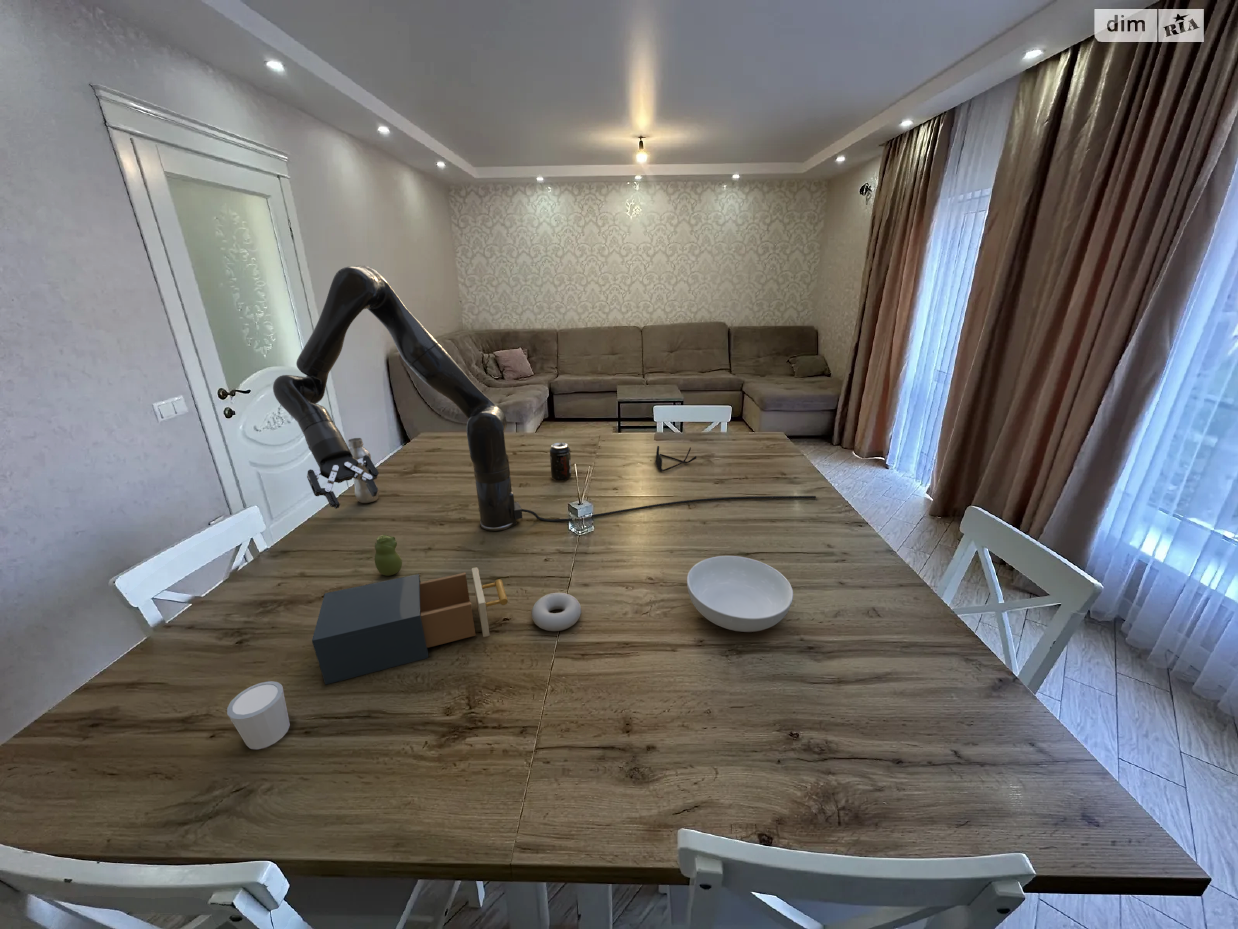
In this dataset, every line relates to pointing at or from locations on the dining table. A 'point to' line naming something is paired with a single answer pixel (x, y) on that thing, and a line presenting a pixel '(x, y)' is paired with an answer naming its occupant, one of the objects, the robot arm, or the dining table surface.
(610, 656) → the dining table surface
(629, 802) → the dining table surface
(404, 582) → the cabinet
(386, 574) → the pear
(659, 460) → the sunglasses
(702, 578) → the serving bowl
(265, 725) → the white tapered tub
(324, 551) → the dining table surface
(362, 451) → the plastic bottle
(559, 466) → the beverage can
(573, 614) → the donut
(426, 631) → the drawer
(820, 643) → the dining table surface
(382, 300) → the robot arm
